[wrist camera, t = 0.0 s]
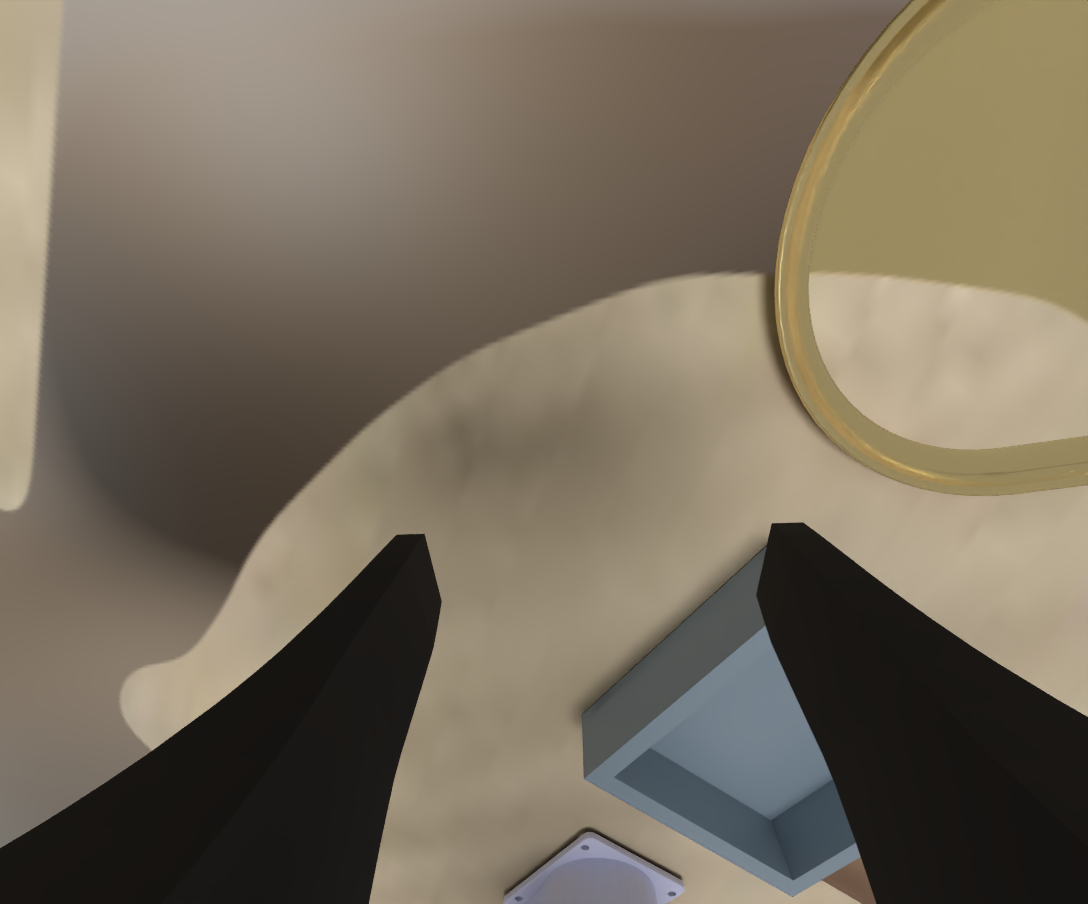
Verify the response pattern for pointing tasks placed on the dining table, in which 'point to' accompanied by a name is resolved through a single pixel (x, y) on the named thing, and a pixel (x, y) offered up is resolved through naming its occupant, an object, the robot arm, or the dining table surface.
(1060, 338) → the dining table surface
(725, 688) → the bin
